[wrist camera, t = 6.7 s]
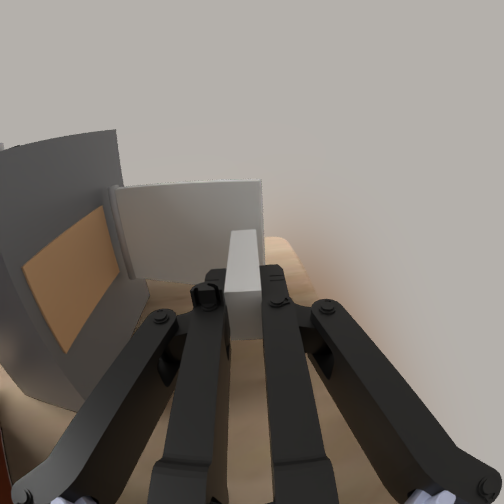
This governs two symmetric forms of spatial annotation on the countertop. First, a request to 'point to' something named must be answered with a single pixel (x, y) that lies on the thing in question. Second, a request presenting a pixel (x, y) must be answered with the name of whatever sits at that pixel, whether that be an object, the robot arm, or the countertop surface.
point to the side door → (184, 226)
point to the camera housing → (63, 267)
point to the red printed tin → (4, 477)
